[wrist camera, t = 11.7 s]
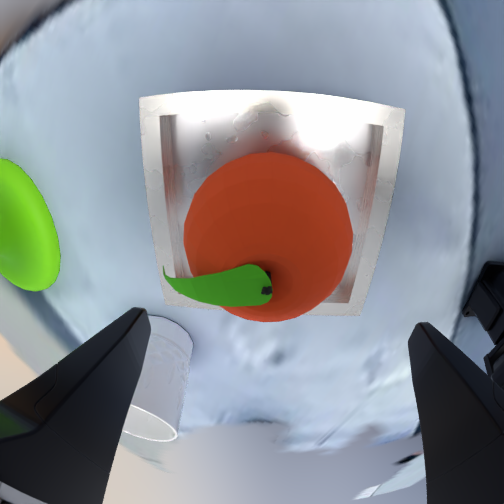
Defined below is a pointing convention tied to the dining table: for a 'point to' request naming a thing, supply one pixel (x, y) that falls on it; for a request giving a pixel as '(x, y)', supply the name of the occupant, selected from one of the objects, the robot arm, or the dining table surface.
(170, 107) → the tray
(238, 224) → the clementine
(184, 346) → the white cup
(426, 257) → the dining table surface
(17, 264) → the wineglass
